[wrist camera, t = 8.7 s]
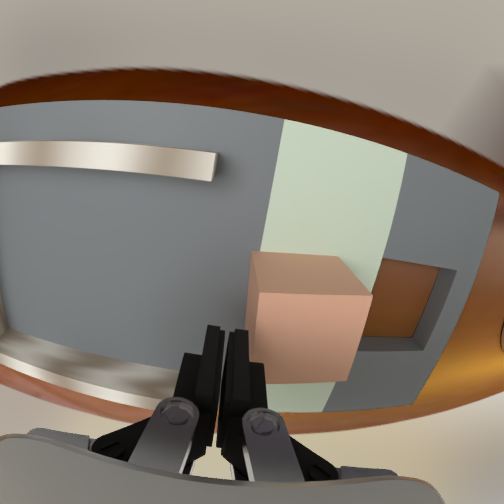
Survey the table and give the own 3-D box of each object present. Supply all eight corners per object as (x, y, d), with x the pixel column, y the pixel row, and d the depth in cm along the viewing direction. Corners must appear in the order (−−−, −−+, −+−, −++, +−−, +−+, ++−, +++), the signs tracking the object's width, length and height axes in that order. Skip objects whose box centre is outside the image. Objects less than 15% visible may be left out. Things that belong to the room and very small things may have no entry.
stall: (218, 152, 15) (215, 153, 12) (190, 384, 20) (187, 415, 17) (-18, 142, 13) (-46, 145, 10) (2, 336, 18) (-16, 356, 15)
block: (337, 255, 17) (373, 295, 12) (322, 329, 19) (346, 380, 14) (251, 250, 17) (259, 292, 12) (244, 327, 18) (249, 383, 14)
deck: (482, 188, 18) (499, 192, 16) (403, 391, 25) (412, 404, 23) (-7, 111, 14) (-24, 111, 12) (9, 341, 20) (-1, 353, 18)
